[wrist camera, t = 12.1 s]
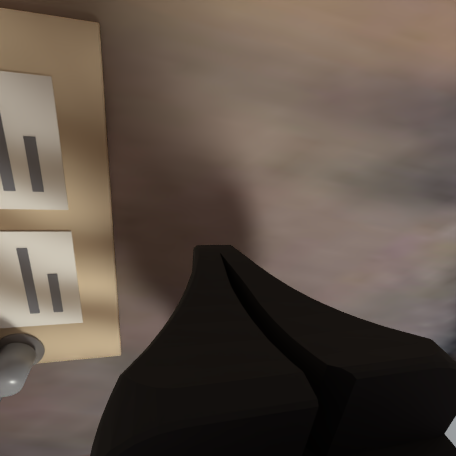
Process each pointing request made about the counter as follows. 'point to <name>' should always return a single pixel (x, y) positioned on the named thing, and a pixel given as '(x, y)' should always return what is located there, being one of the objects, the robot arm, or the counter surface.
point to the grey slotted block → (15, 367)
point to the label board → (55, 191)
